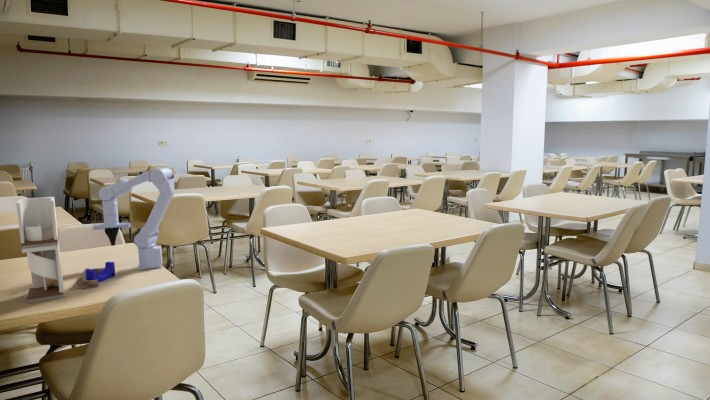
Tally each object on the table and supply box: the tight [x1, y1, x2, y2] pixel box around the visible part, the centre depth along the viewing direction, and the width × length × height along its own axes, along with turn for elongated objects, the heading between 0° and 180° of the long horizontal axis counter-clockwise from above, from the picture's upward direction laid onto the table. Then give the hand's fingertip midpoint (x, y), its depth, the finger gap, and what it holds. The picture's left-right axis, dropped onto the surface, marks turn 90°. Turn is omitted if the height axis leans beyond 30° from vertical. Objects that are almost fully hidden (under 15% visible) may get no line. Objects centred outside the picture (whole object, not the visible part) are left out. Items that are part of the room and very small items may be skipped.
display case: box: [16, 196, 64, 304], centre depth 178 cm, size 11×11×35 cm
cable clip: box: [86, 261, 116, 284], centre depth 198 cm, size 12×4×6 cm, turn 166°
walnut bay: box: [76, 267, 105, 289], centre depth 197 cm, size 7×18×3 cm, turn 18°
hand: (113, 245), depth 216 cm, fingers closed
